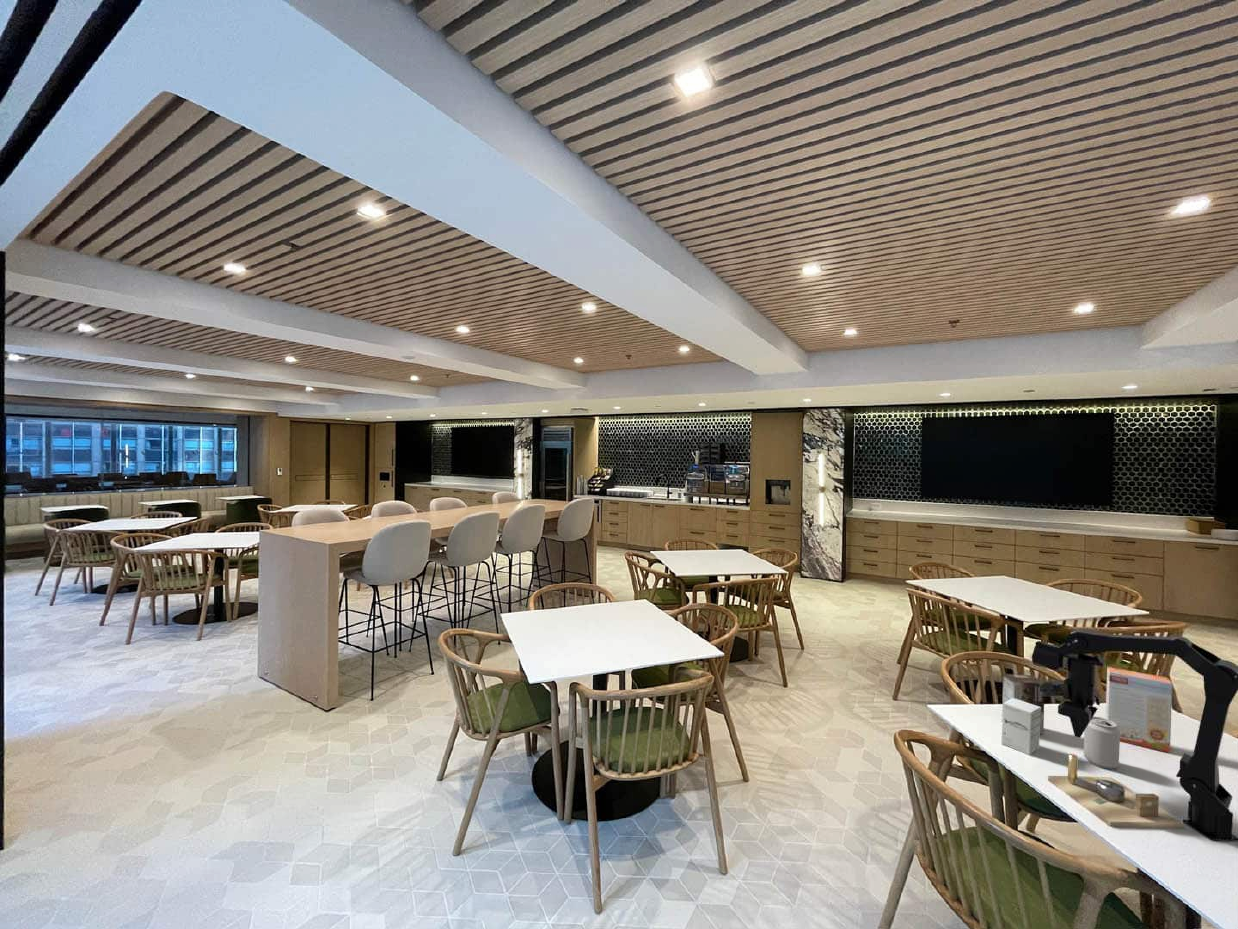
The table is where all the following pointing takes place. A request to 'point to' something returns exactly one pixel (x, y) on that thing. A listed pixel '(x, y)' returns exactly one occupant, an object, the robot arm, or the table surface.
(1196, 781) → the robot arm
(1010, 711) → the supplement box
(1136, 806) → the stand
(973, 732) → the table surface
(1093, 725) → the can
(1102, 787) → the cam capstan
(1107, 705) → the cracker box
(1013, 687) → the coffee box
